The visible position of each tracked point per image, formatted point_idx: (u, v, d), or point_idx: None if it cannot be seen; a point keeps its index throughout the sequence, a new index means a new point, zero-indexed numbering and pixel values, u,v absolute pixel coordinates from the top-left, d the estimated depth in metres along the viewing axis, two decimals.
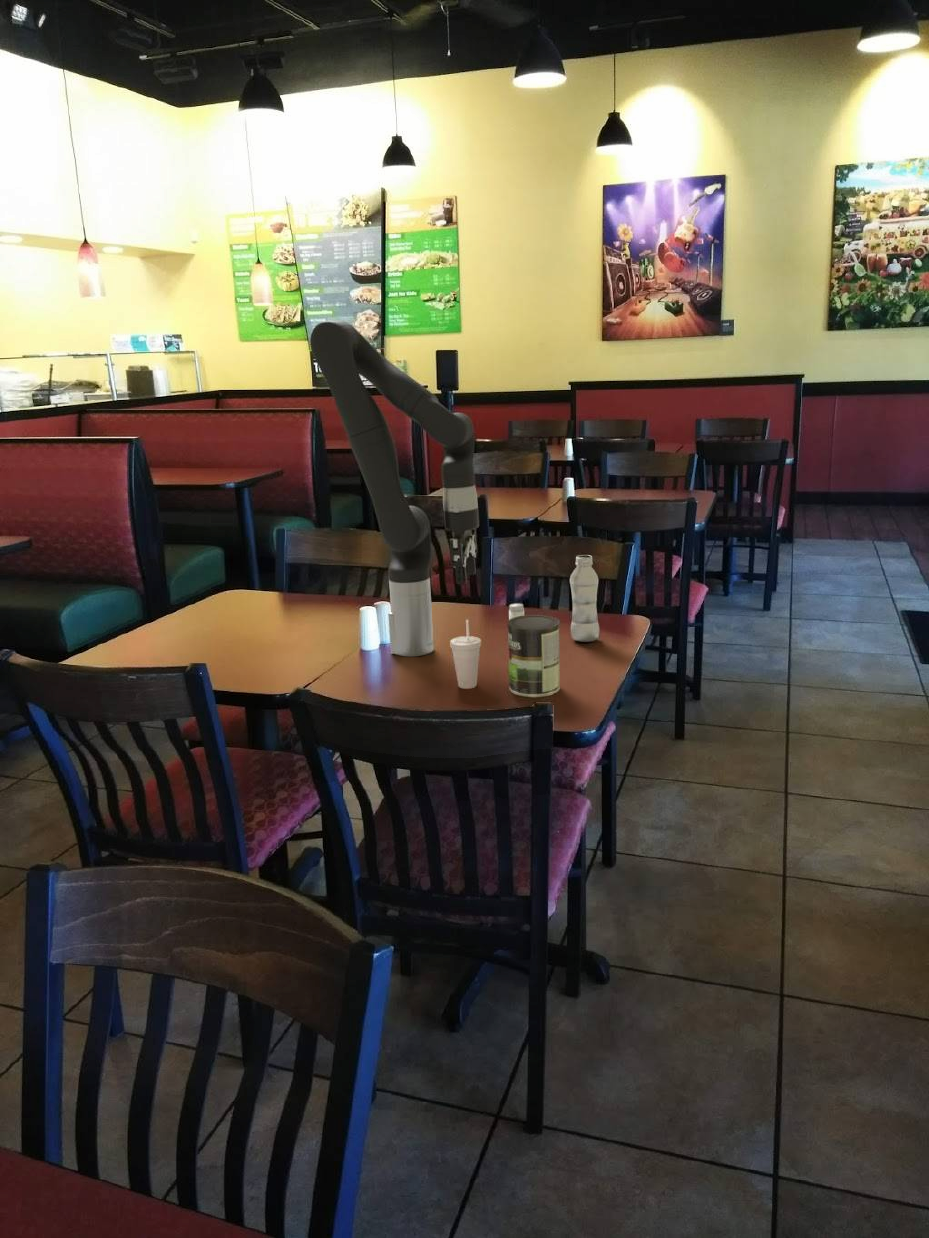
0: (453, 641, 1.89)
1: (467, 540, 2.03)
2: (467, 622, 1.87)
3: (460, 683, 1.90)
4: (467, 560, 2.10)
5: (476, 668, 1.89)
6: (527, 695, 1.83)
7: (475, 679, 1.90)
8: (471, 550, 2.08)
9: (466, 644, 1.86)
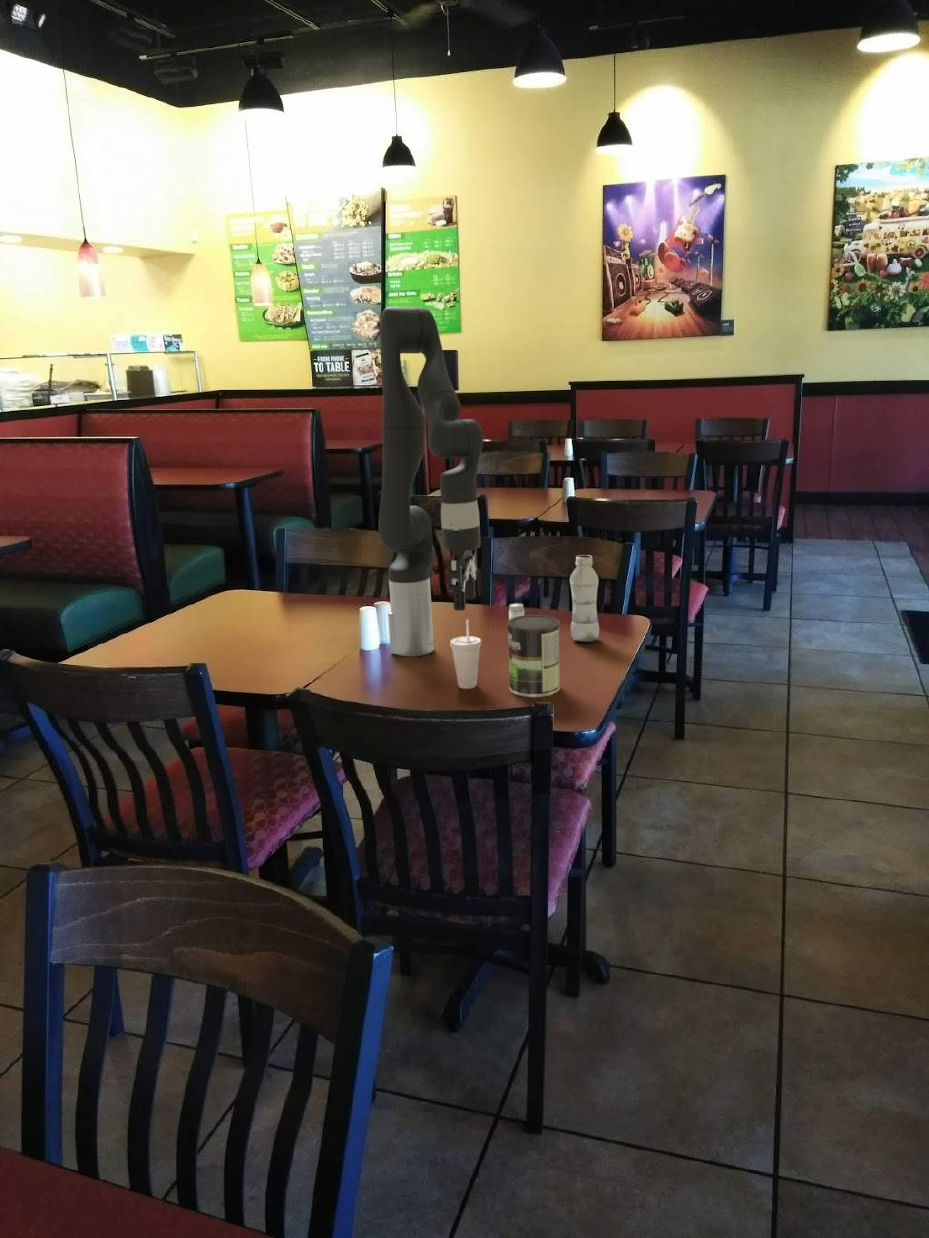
0: (453, 641, 1.89)
1: (467, 561, 1.82)
2: (467, 622, 1.87)
3: (460, 683, 1.90)
4: (466, 582, 1.90)
5: (476, 668, 1.89)
6: (527, 695, 1.83)
7: (475, 679, 1.90)
8: (471, 572, 1.87)
9: (466, 644, 1.86)
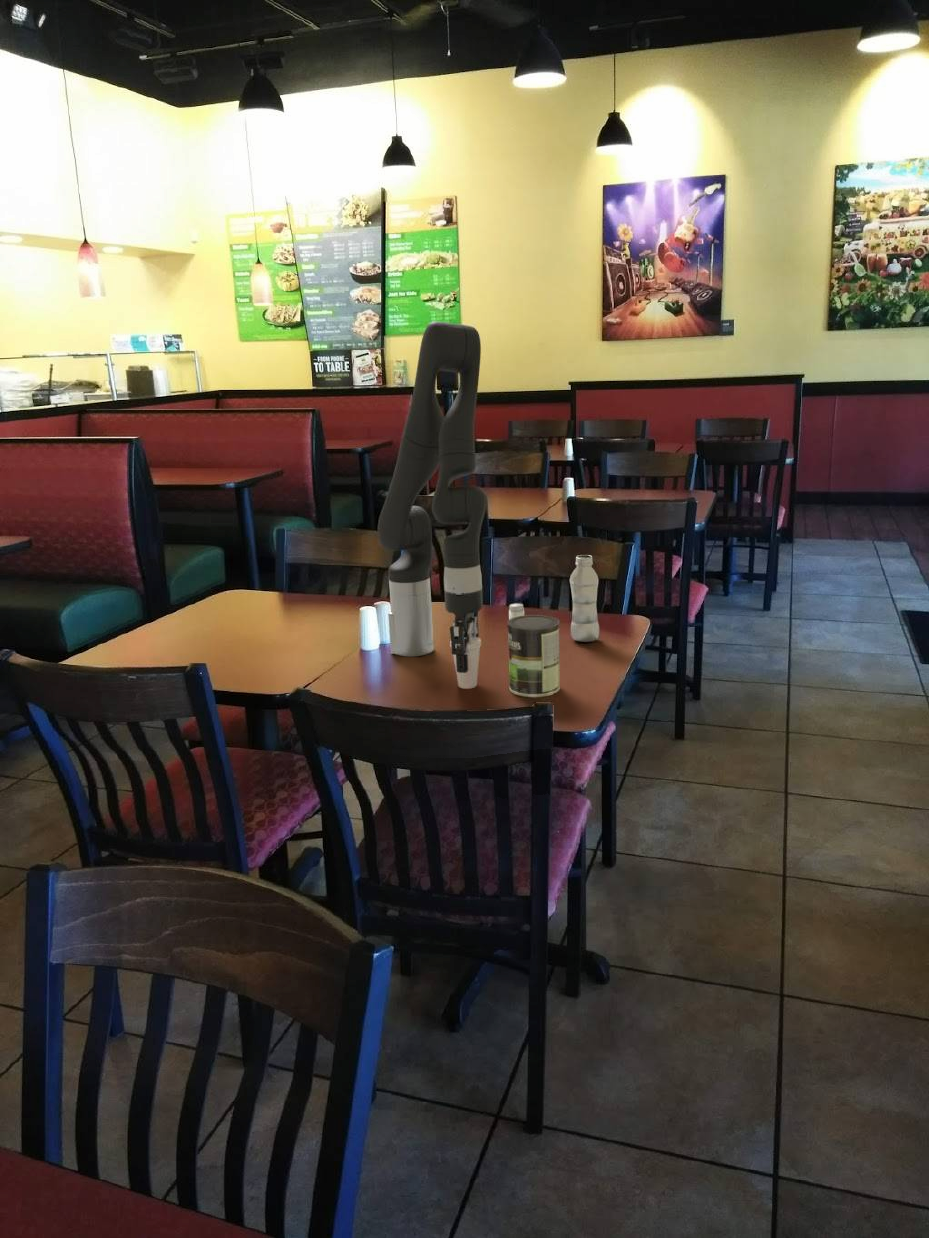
0: None
1: (469, 624, 1.85)
2: None
3: (460, 683, 1.90)
4: None
5: (476, 668, 1.89)
6: (527, 695, 1.83)
7: (475, 679, 1.90)
8: (472, 634, 1.90)
9: None
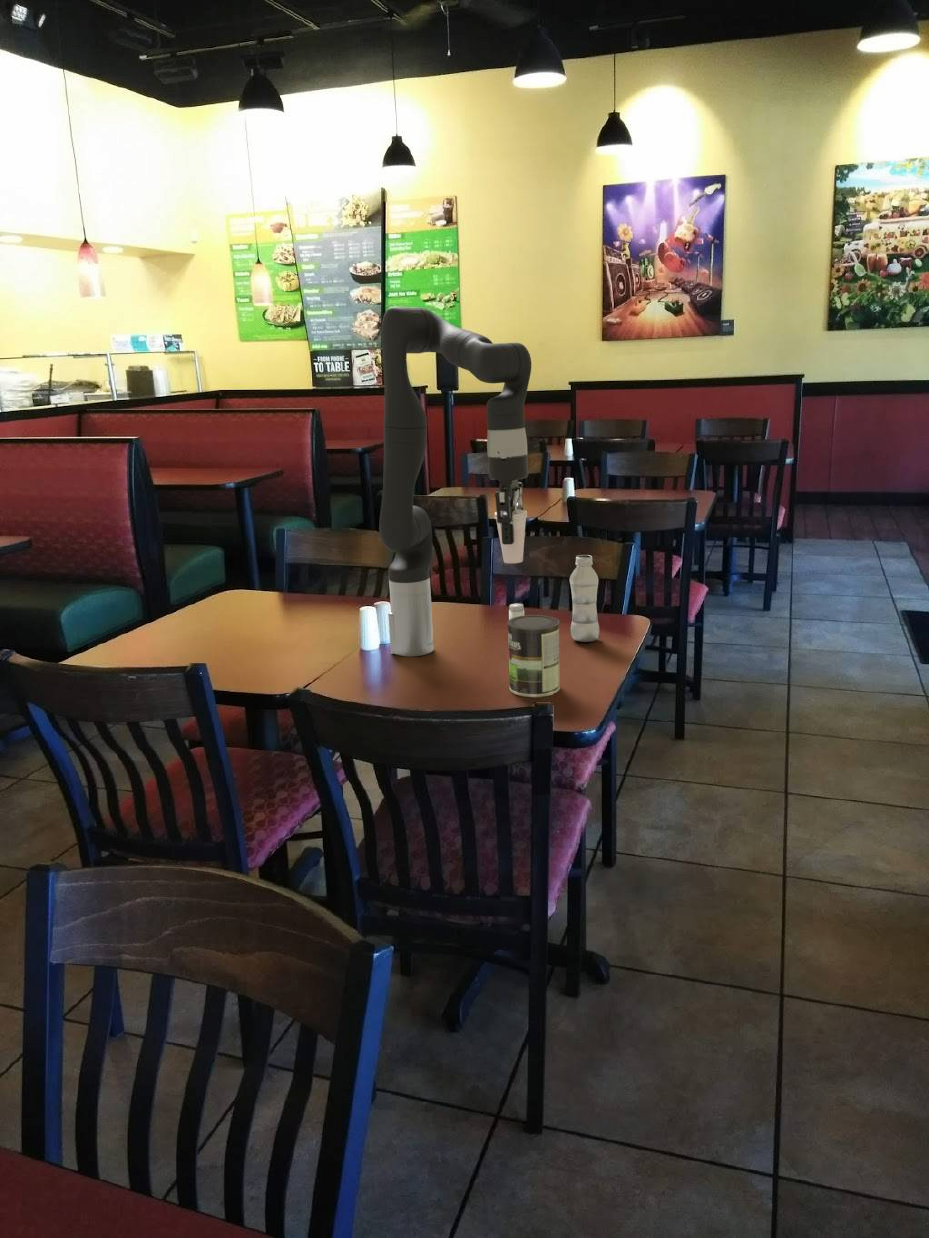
0: None
1: (514, 492, 1.76)
2: None
3: (506, 557, 1.80)
4: None
5: (522, 541, 1.79)
6: (527, 695, 1.83)
7: (521, 553, 1.80)
8: (517, 506, 1.81)
9: None
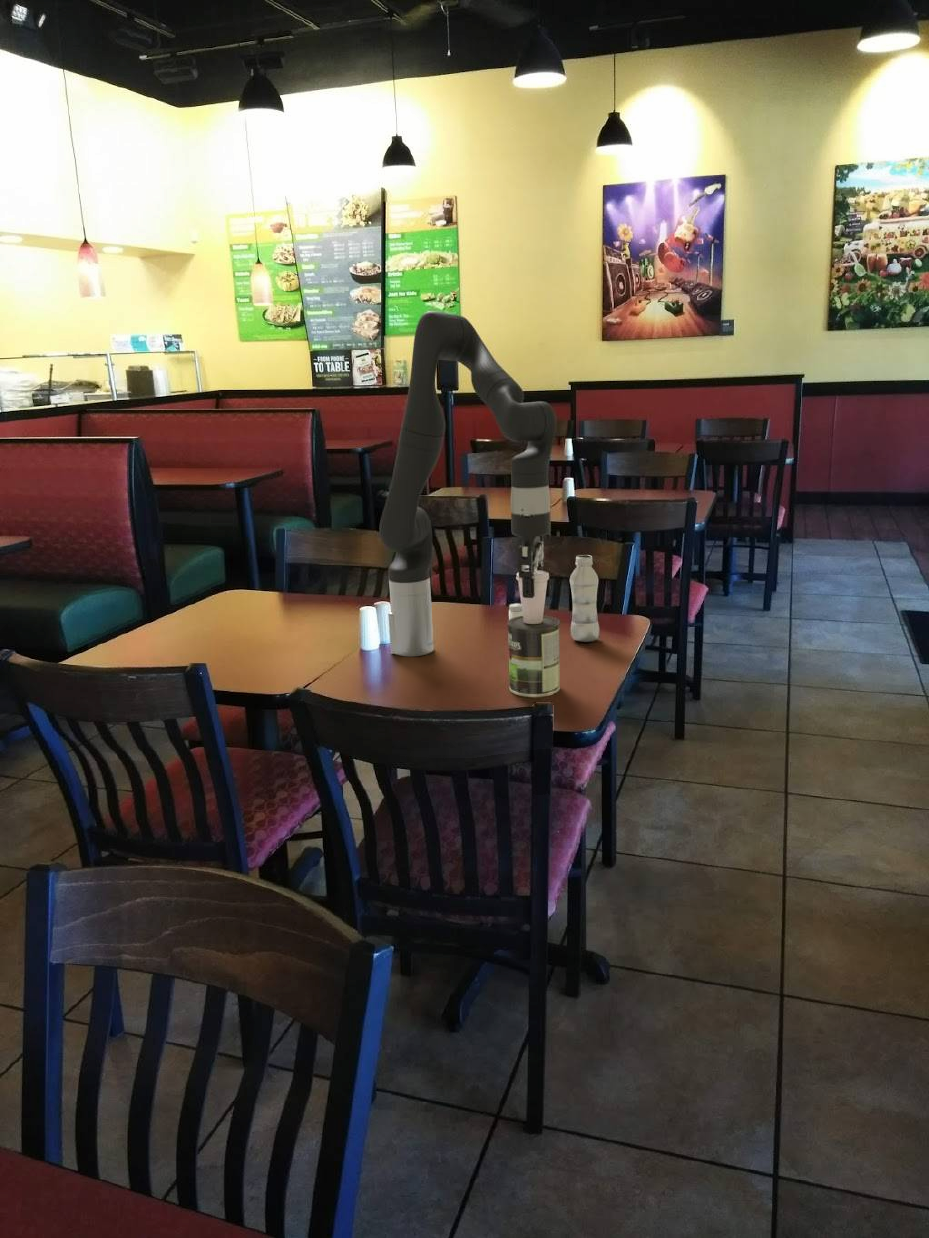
0: None
1: (537, 548, 1.78)
2: None
3: (526, 618, 1.82)
4: None
5: (543, 603, 1.82)
6: (527, 695, 1.83)
7: (542, 614, 1.82)
8: (539, 559, 1.83)
9: (535, 576, 1.79)
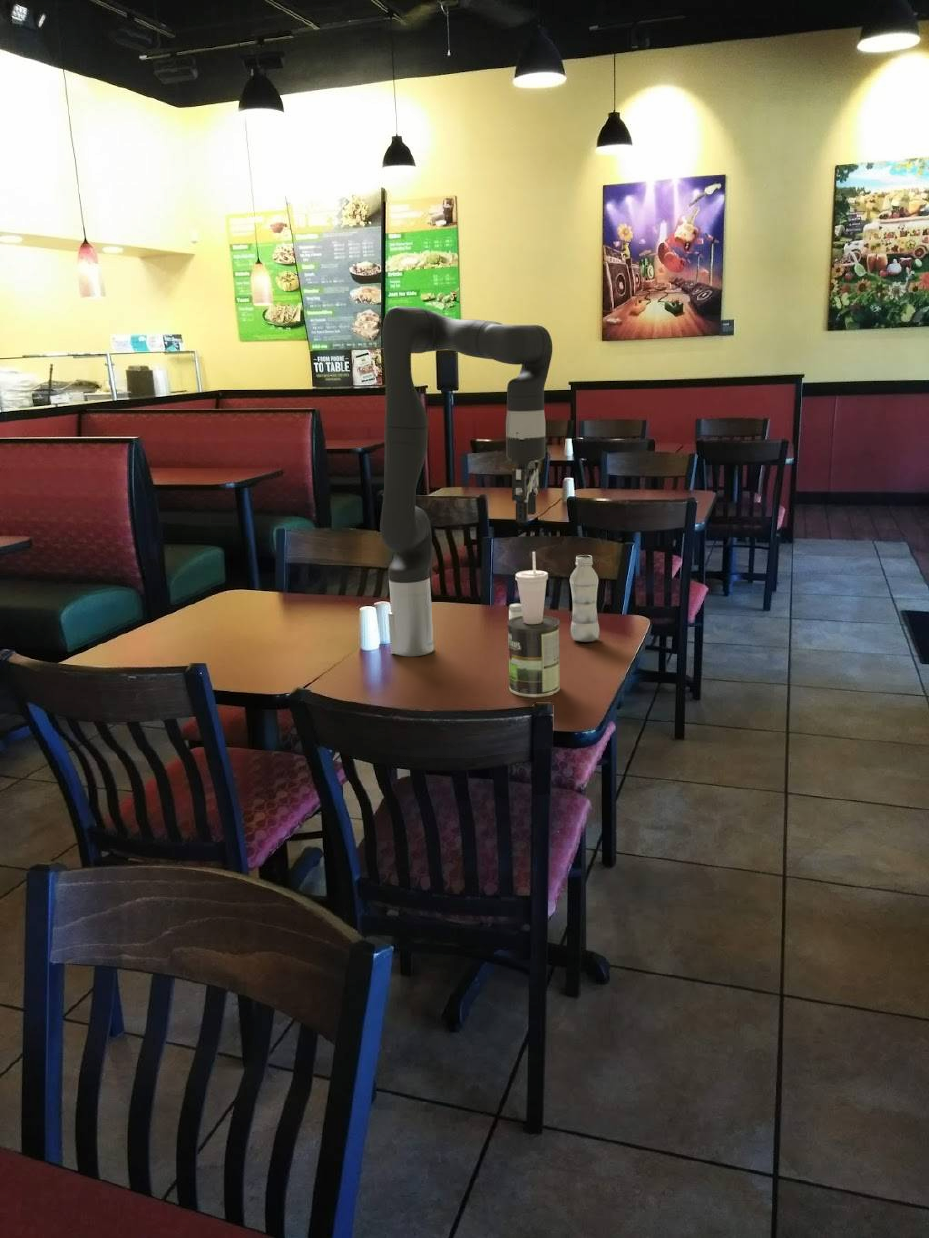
0: (519, 574, 1.81)
1: (531, 472, 1.78)
2: (534, 554, 1.80)
3: (526, 618, 1.82)
4: (527, 497, 1.86)
5: (543, 603, 1.82)
6: (527, 695, 1.83)
7: (541, 614, 1.82)
8: (533, 485, 1.84)
9: (533, 577, 1.79)
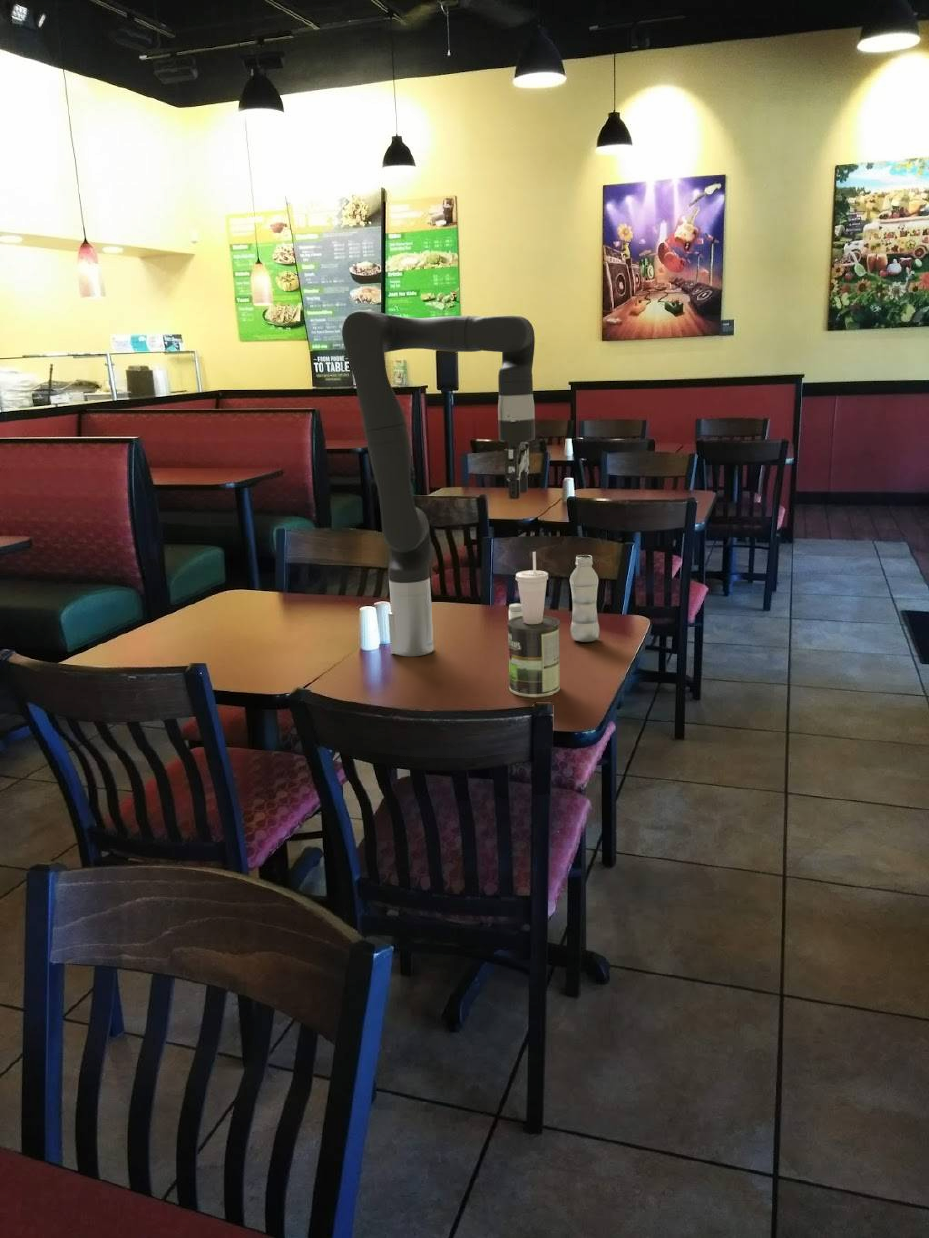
0: (519, 574, 1.81)
1: (522, 452, 1.92)
2: (534, 554, 1.80)
3: (526, 618, 1.82)
4: (519, 476, 2.00)
5: (543, 603, 1.82)
6: (527, 695, 1.83)
7: (541, 614, 1.82)
8: (524, 465, 1.98)
9: (534, 577, 1.79)
